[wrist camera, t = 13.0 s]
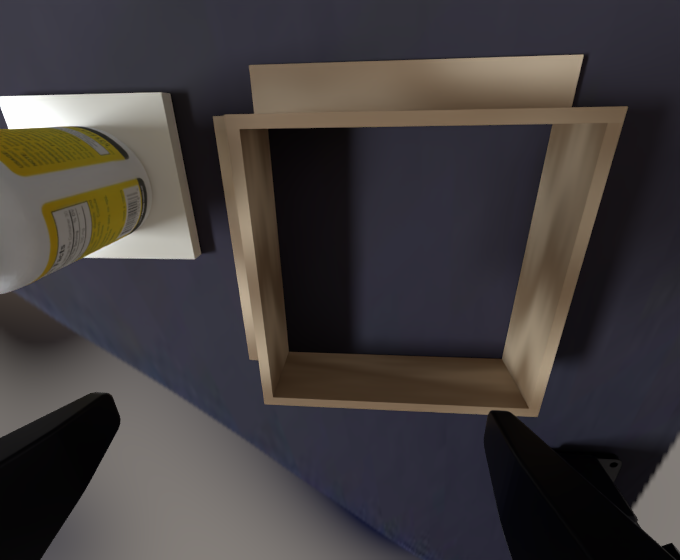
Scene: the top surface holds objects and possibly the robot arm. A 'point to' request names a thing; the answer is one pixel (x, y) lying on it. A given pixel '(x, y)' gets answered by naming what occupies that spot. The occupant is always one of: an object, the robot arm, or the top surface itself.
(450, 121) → the light brown piece
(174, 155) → the tile
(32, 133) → the supplement bottle
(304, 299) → the top surface
